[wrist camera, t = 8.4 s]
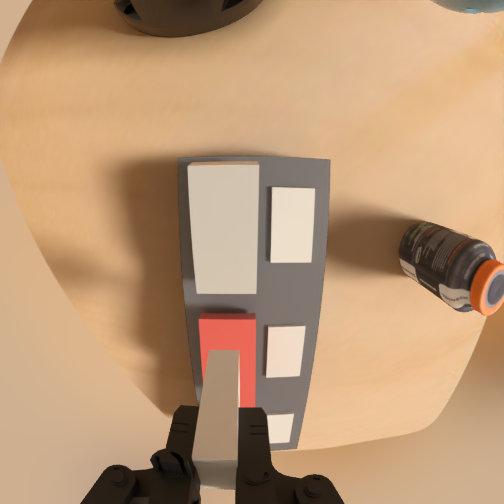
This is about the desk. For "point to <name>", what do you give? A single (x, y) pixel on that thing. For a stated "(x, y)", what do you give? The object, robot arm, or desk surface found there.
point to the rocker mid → (232, 346)
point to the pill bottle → (453, 267)
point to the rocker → (224, 225)
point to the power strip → (272, 285)
